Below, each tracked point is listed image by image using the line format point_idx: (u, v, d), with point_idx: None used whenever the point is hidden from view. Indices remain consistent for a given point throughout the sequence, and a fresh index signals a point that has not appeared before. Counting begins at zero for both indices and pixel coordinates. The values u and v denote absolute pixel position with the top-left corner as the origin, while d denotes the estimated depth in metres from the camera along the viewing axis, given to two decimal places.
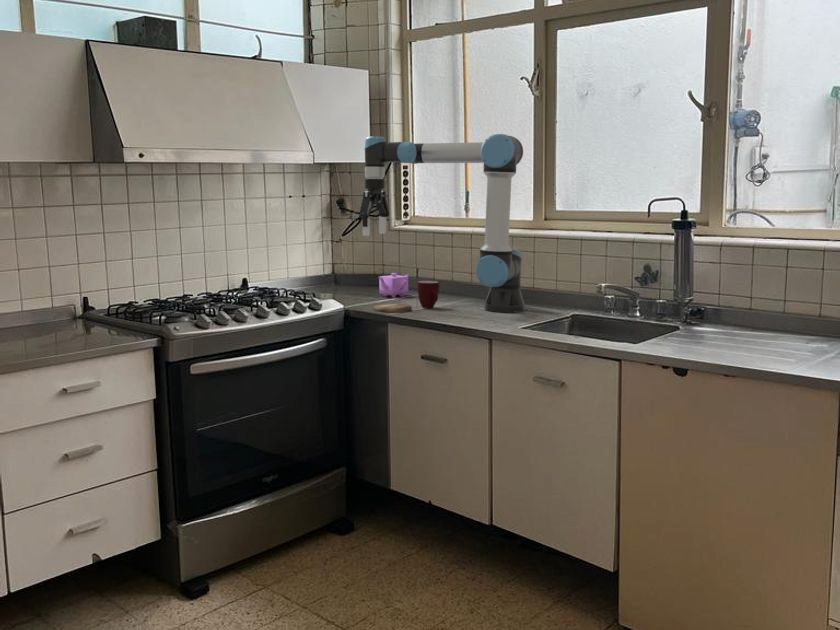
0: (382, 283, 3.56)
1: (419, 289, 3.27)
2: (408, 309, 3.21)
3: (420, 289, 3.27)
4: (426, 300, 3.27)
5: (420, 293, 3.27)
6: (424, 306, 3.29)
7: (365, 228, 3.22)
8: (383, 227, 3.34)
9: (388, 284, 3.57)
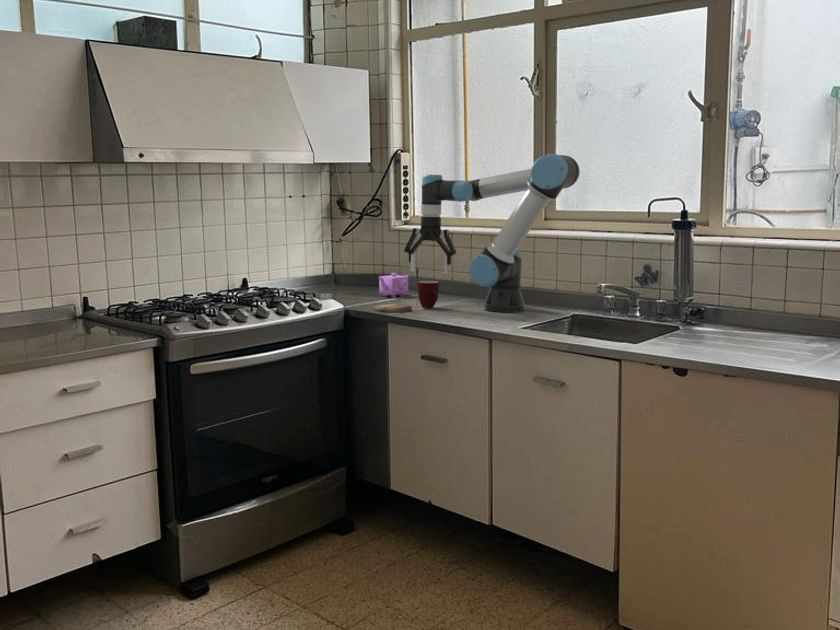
0: (382, 283, 3.56)
1: (419, 289, 3.27)
2: (408, 309, 3.21)
3: (420, 289, 3.27)
4: (426, 300, 3.27)
5: (420, 293, 3.27)
6: (424, 306, 3.29)
7: None
8: None
9: (388, 284, 3.57)
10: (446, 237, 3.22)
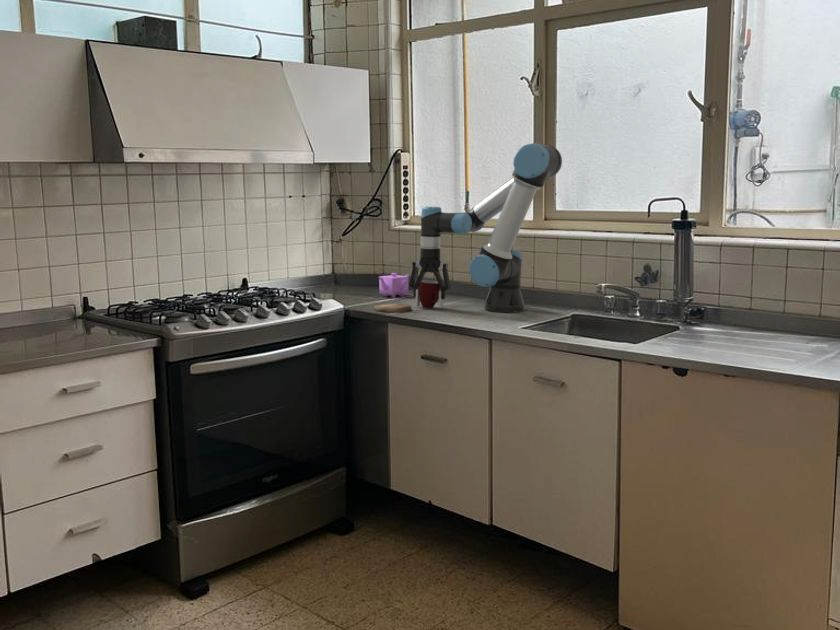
0: (382, 283, 3.56)
1: (420, 288, 3.27)
2: (408, 309, 3.21)
3: (421, 289, 3.27)
4: (427, 300, 3.27)
5: (421, 292, 3.27)
6: (424, 306, 3.29)
7: None
8: None
9: (388, 284, 3.57)
10: (444, 271, 3.24)
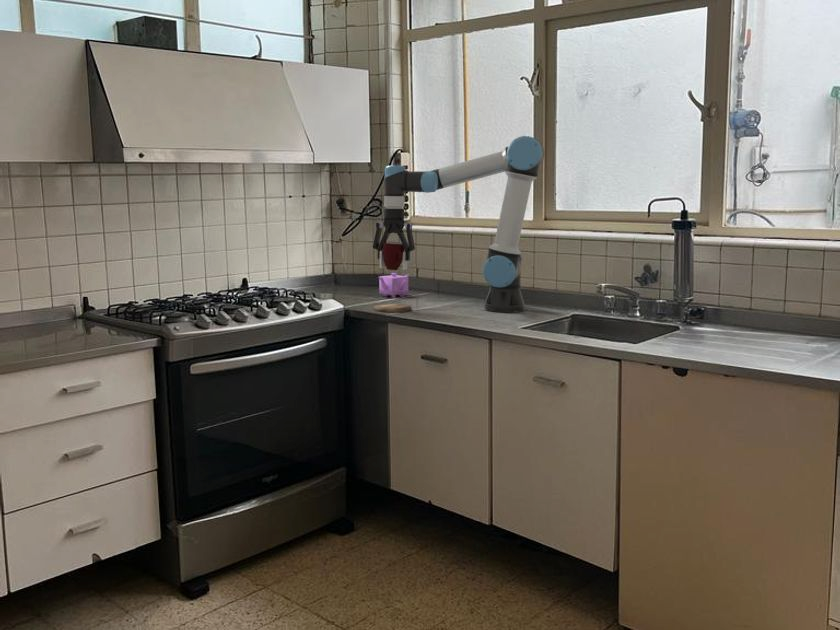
0: (382, 283, 3.56)
1: (384, 250, 3.19)
2: (408, 309, 3.21)
3: (385, 250, 3.19)
4: (391, 261, 3.19)
5: (385, 254, 3.20)
6: (388, 267, 3.21)
7: None
8: None
9: (388, 284, 3.57)
10: (408, 231, 3.17)
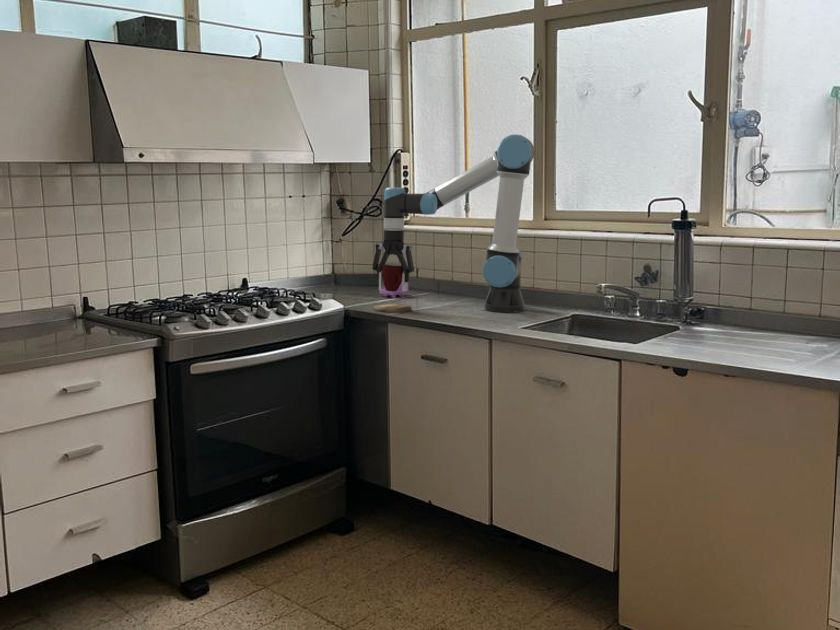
0: None
1: (383, 271, 3.21)
2: (408, 309, 3.21)
3: (384, 271, 3.20)
4: (390, 283, 3.20)
5: (384, 275, 3.21)
6: (388, 289, 3.22)
7: None
8: None
9: None
10: (407, 253, 3.18)
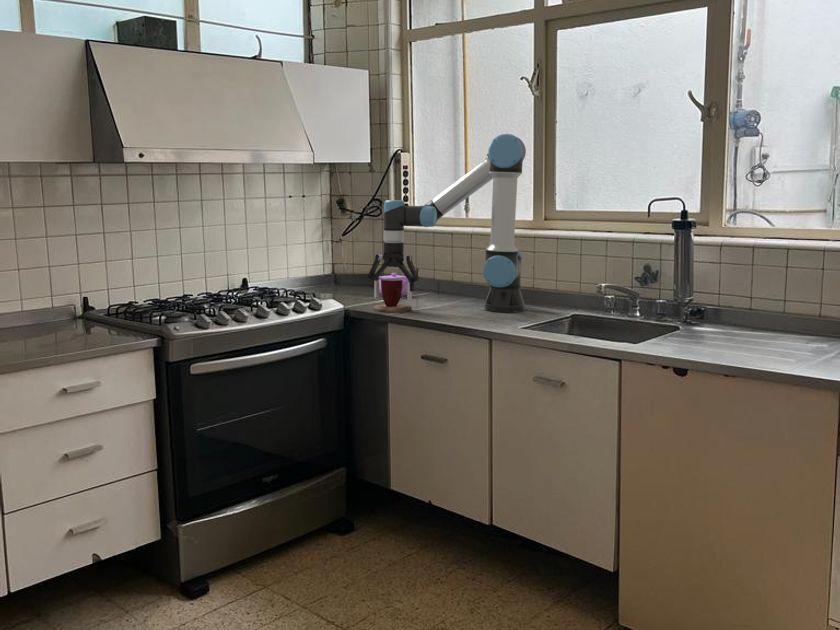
0: None
1: (382, 287, 3.22)
2: (408, 309, 3.21)
3: (383, 287, 3.21)
4: (389, 298, 3.21)
5: (383, 291, 3.22)
6: (387, 304, 3.23)
7: None
8: None
9: None
10: (409, 263, 3.18)
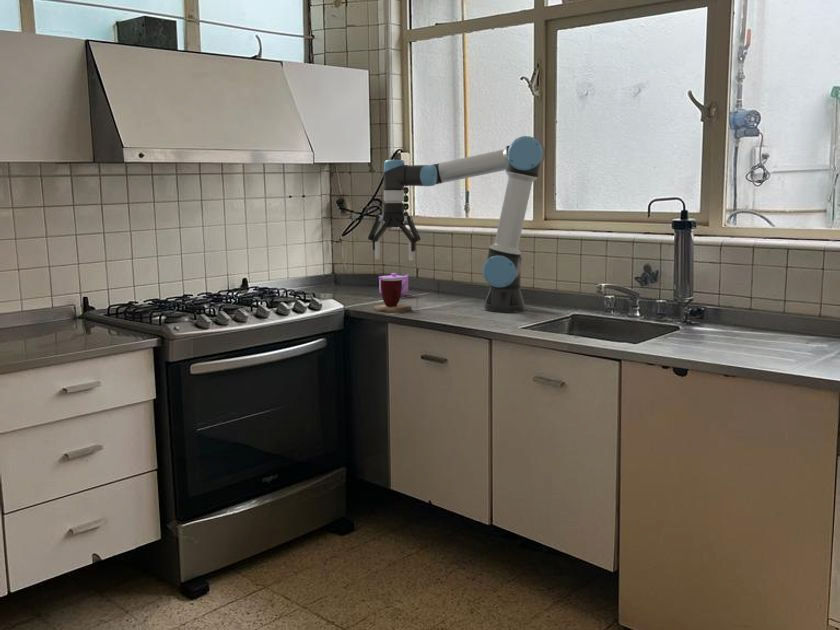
0: None
1: (382, 287, 3.22)
2: (408, 309, 3.21)
3: (383, 287, 3.21)
4: (389, 298, 3.21)
5: (383, 291, 3.22)
6: (387, 304, 3.23)
7: None
8: None
9: None
10: (409, 223, 3.16)
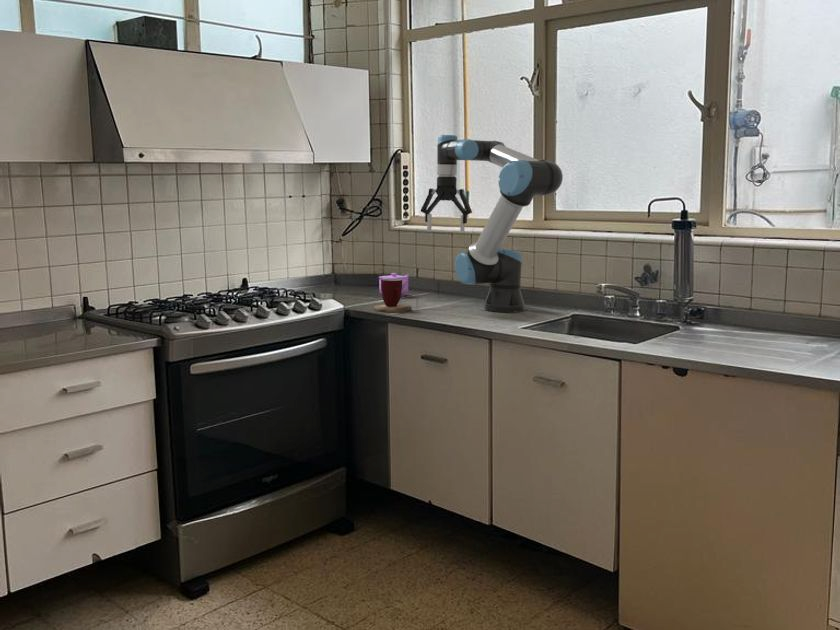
0: None
1: (382, 287, 3.22)
2: (408, 309, 3.21)
3: (383, 287, 3.21)
4: (389, 298, 3.21)
5: (383, 291, 3.22)
6: (387, 304, 3.23)
7: None
8: None
9: None
10: (462, 196, 3.29)
